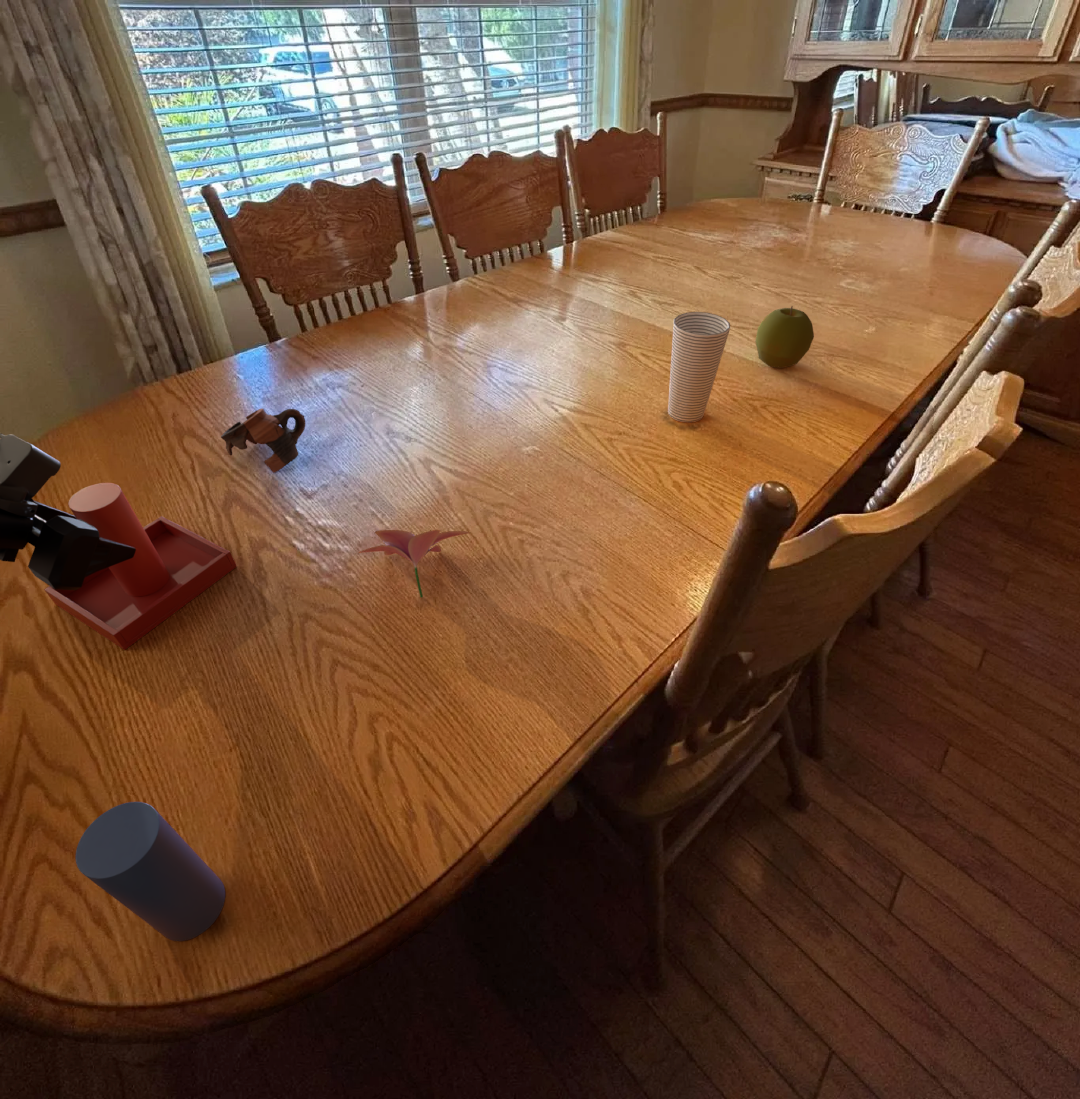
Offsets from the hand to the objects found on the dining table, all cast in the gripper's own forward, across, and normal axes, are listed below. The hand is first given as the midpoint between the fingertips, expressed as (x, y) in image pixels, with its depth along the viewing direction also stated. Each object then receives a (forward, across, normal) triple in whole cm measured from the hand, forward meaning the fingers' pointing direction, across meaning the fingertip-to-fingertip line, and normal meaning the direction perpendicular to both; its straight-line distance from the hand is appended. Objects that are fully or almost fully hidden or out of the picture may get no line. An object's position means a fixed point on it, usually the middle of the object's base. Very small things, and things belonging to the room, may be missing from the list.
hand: (108, 538), depth 70 cm
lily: (+20, -27, -8) cm, 34 cm away
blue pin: (-8, -35, +20) cm, 41 cm away
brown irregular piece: (+26, +8, -14) cm, 31 cm away
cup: (+57, -41, -45) cm, 83 cm away
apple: (+75, -49, -63) cm, 110 cm away
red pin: (+6, 0, +5) cm, 8 cm away
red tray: (+7, 0, +5) cm, 9 cm away
